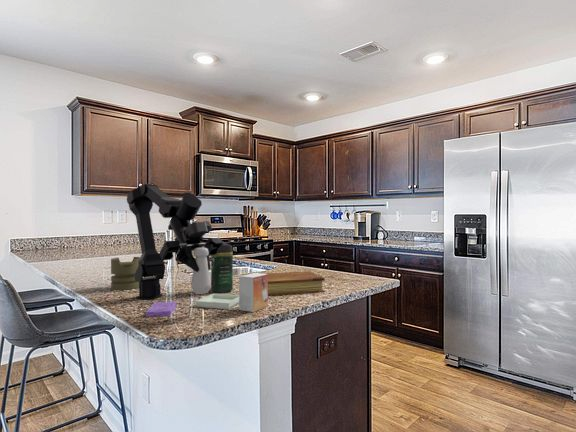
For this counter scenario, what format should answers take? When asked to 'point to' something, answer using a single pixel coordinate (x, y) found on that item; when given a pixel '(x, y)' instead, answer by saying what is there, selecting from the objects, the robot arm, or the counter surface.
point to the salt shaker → (201, 272)
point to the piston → (124, 274)
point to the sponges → (161, 309)
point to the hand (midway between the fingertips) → (203, 270)
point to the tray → (218, 301)
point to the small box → (253, 292)
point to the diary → (294, 283)
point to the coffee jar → (222, 269)
